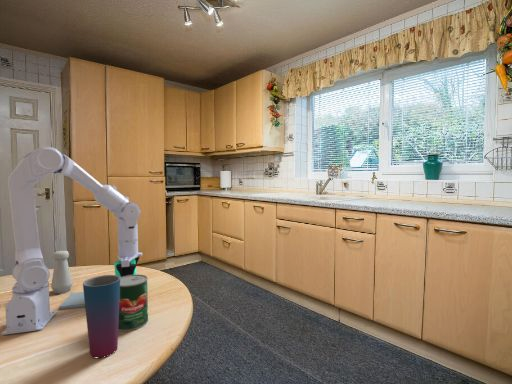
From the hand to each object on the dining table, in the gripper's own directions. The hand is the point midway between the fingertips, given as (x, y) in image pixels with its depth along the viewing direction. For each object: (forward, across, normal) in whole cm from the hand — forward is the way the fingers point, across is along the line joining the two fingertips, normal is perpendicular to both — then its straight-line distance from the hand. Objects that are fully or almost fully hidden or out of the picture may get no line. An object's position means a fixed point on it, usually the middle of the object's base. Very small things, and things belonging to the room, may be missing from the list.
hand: (129, 283), depth 89 cm
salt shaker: (+4, +9, +21) cm, 23 cm away
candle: (+3, 0, 0) cm, 3 cm away
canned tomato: (+4, -20, -3) cm, 21 cm away
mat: (+3, -1, +12) cm, 13 cm away
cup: (+4, -31, +1) cm, 31 cm away
